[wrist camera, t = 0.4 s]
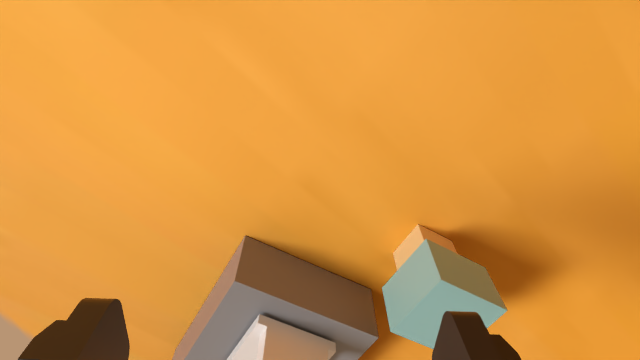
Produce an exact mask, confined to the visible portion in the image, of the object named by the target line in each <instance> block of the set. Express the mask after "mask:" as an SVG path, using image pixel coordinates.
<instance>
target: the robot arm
mask: <svg viewBox="0 0 640 360" xmlns="http://www.w3.org/2000/svg"><path fill="white" fill-rule="evenodd" d="M128 357H129V339H128V334H127V329H126V324H125V319H124V315H123V310H122V305H121V302H120V301H119V300H118V299H99V298H85V299H83V300H81V301H80V302H79V304H78V305H77V306H76V308H75V309H74V311H73V312H72V314H71V315H70V316H69V318H68V319H67V321H65V320H56V321H55V322H53V323H52V324H51V325H50V326H48V327H47V328H46V329H44V330H43V331H42V332H41V333H39V334H38V335H37V336H35V337H34V338H33V340H32V341H31V342H30V344H29V345H28V346H27V347H26V349H25V350H24V352H23V353H22V354H21V355H20V357H19V358H18V360H128ZM432 360H521V358H520V356H519V354H518V353H517V352H516V351H515V350H514V349H513V348H512V347H511V346H510V345H509V344H508V343H507V342H506V341H505V340H504V339H503V338H502V337H501V336H500V335H490V334H489V332H488V330H487V328H486V326H485V324H484V322H483V320H482V318H481V317H480V315H479V314H478V313H477V312H460V311H446V312H445V313H444V314H443V317H442V321H441V324H440V328H439V332H438V335H437V339H436V343H435V346H434V350H433V355H432Z"/></svg>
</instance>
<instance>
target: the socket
mask: <svg viewBox="0 0 640 360" xmlns="http://www.w3.org/2000/svg"><path fill="white" fill-rule="evenodd" d="M259 314H261V315H263V316H266V317H269V318H271V319H274V320H276V321H279V322H282V323H284V324H287V325H290V326H292V327H295V328H298V329H300V330H303V331H306V332H308V333H311V334H313V335H316V336H319V337H321V338H324V339H327V340H329V341H332V342H335V344H336V352H335V354H334V355H333V356H332V357H331V358H330V359H329V360H358V359H359V358H360V357H361V356H362V355H363V354H364V352H365V351H366V350H367V349H368V348H369V347H370V346H371V345H372V344H373V343H374V342H375V341H376V340H377V339H378V338H379V336H378V330H377V324H376V317H375V311H374V305H373V298H372V292H371V289H369V288H366V287H364V286H362V285H359V284H357V283H355V282H352V281H350V280H348V279H345V278H343V277H341V276H338V275H336V274H334V273H331V272H329V271H327V270H324V269H322V268H320V267H317V266H315V265H313V264H310V263H308V262H306V261H303V260H301V259H299V258H296V257H294V256H292V255H289V254H287V253H285V252H282V251H280V250H278V249H275V248H273V247H271V246H268V245H266V244H264V243H262V242H259V241H257V240H255V239H252V238H250V237H248V236H245V237H244V239H243V240H242V242H241V244H240V245H239V247H238V248H237V250H236V252H235V253H234V255H233V257H232V258H231V260H230V262H229V263H228V265H227V266H226V268H225V270H224V271H223V273H222V275H221V276H220V278H219V280H218V281H217V283H216V284H215V286H214V288H213V289H212V291H211V293H210V294H209V296H208V298H207V299H206V301H205V303H204V304H203V306H202V307H201V309H200V311H199V312H198V314H197V316H196V317H195V319H194V321H193V322H192V324H191V325H190V327H189V329H188V330H187V332H186V334H185V335H184V337H183V339H182V340H181V342H180V343H179V345H178V347H177V348H176V350H175V353H174V356H173V359H172V360H227V358H228V357H229V356H230V354H231V353H232V351H233V350H234V349H235V347H236V346H237V344H238V343H239V342H240V340H241V339H242V337H243V336H244V335H245V333H246V332H247V330H248V329H249V328H250V326H251V325H252V324H253V322H254V321H255V319H256V318H257V317H258V315H259Z"/></svg>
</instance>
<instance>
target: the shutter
mask: <svg viewBox="0 0 640 360" xmlns="http://www.w3.org/2000/svg"><path fill="white" fill-rule="evenodd" d="M335 352H336V344H335V342H332V341H329V340H327V339H324V338H321V337H319V336H316V335H313V334H311V333H308V332H306V331H303V330H300V329H298V328H295V327H292V326H290V325H287V324H284V323H282V322H279V321H276V320H274V319H271V318H269V317H266V316H263V315H261V314H259V315H258V317H257V318H256V319H255V321H254V322H253V324H252V325H251V326H250V328H249V329H248V330H247V332H246V333H245V335H244V336H243V337H242V339H241V340H240V342H239V343H238V344H237V346H236V347H235V349H234V350H233V351H232V353H231V354H230V356H229V357H228V358H227V360H329V359H330V358H331V357H332V356H333V355H334V354H335Z"/></svg>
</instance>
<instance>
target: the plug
mask: <svg viewBox="0 0 640 360" xmlns="http://www.w3.org/2000/svg"><path fill="white" fill-rule="evenodd" d="M393 255H394V259H395V263H396V267H397V272H396V273H395V274H394V275H393V276H392V277H391V278H390V279H389V281H388V282H387V283H386V284H385V285H384V286H383V287H382V290H383V296H384V301H385V306H386V311H387V317H388V322H389V327H390V332H392V333H395V334H397V335H400V336H402V337H404V338H407V339H409V340H412V341H414V342H417V343H419V344H422V345H424V346H427V347H429V348H432V349H434V346H435V343H436V339H437V335H438V332H439V328H440V324H441V321H442V317H443V314H444V313H445V312H446V311H460V312H477V313H478V314H479V315H480V317H481V318H482V320H483V322H484V324H485V326H486V328H488V327H489V326H490V325H491V324H492V323H494V322H495V321H496V320H497V319H498V318H499V317H500V316H502V315H503V314H504V313H505V312H506V311H507V308H506V307H505V305H504V303H503V301H502V299H501V297H500V295H499V293H498V291H497V289H496V287H495V285H494V283H493V281H492V280H491V278H490V276H489V274H488V272H487V270H486V268H485V267H483V266H481V265H479V264H477V263H475V262H473V261H471V260H469V259H467V258H465V257H463V256H461V255H459V254H458V253H457V251H456V249H455V247H454V245H453V242H452V241H451V240H449V239H447V238H445V237H443V236H441V235H439V234H437V233H435V232H433V231H431V230H429V229H427V228H425V227H423V226H421V225H419V224H418V225H417V226H416V227H415V228H414V229H413V231H412V232H411V233H410V234H409V235H408V236H407V238H406V239H405V240H404V241H403V242H402V243H401V244H400V246H399V247H398V248H397V249H396V250H395V251H394V253H393Z"/></svg>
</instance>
